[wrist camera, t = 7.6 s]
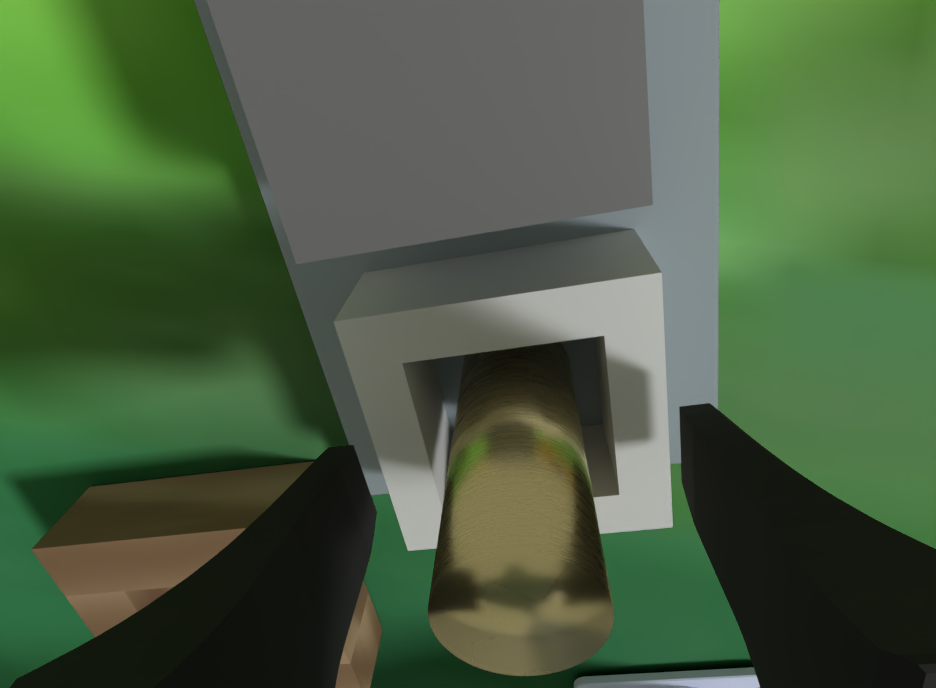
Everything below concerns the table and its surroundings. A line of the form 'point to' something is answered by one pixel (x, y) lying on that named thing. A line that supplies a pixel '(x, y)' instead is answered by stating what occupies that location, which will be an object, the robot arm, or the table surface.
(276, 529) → the robot arm
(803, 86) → the table surface
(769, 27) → the table surface
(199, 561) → the pin mount
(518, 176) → the tool dock
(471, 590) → the lock pin
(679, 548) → the table surface
